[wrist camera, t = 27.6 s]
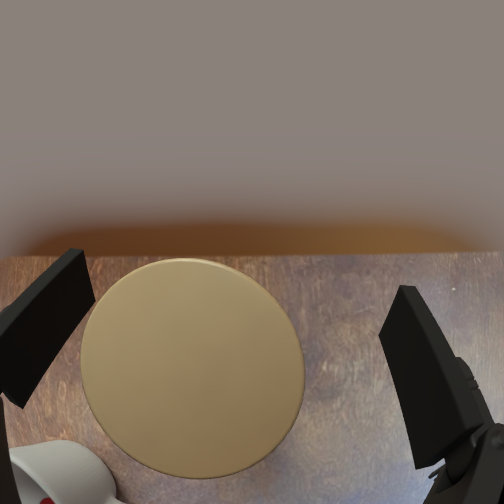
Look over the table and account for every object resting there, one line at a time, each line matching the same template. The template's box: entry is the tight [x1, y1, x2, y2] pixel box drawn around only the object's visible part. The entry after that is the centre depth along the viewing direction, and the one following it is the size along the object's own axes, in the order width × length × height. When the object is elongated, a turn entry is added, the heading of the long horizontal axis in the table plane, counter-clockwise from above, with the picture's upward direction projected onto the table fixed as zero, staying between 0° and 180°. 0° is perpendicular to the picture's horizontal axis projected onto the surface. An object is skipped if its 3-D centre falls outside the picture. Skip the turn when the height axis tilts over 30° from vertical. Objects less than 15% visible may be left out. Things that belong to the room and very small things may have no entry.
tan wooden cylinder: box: [80, 258, 305, 479], centre depth 10 cm, size 3×3×15 cm
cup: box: [9, 440, 126, 504], centre depth 10 cm, size 11×8×8 cm
